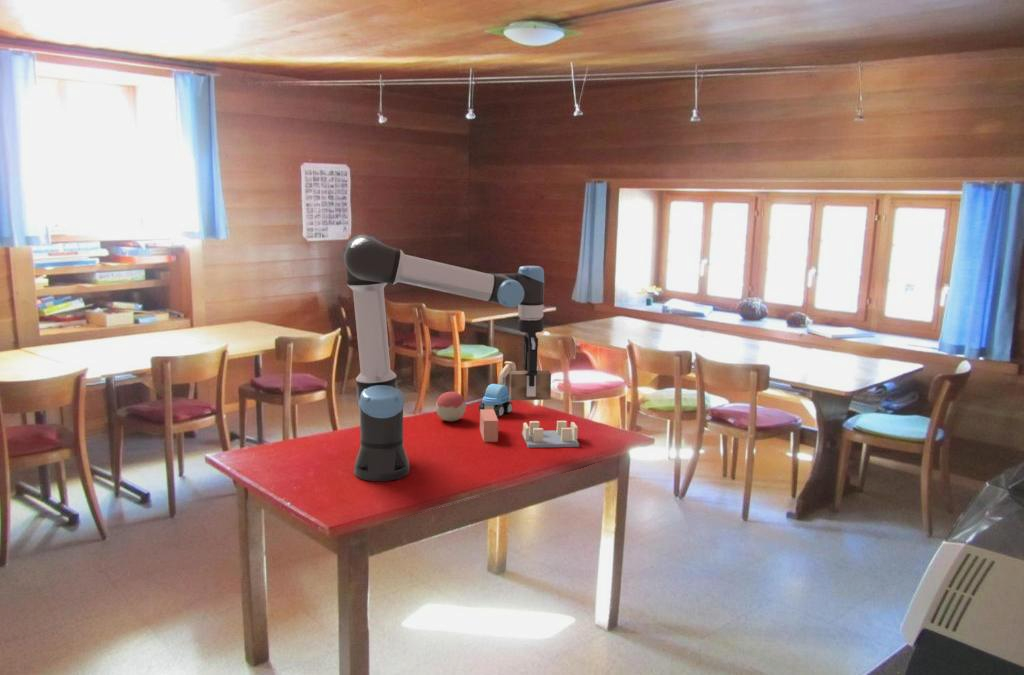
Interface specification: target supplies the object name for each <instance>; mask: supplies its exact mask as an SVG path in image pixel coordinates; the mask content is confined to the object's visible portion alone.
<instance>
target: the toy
mask: <svg viewBox="0 0 1024 675" xmlns="http://www.w3.org/2000/svg"><path fill="white" fill-rule="evenodd" d="M466 409H467V406H466V400H465V398H464V397H463V396H462V395H461V394H460V393H459V392H457V391H447V392H444V393H442V394H441V395H439V397H438V398H437V400H436V404H435V410H436V413H437V416H438V417H439V418H440V419H442V420H443V421H447V422H455V421H458V420H460V419H462V418H463V416H464V414H465V412H466Z"/></svg>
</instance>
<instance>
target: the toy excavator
mask: <svg viewBox="0 0 1024 675" xmlns="http://www.w3.org/2000/svg"><path fill="white" fill-rule="evenodd" d="M510 371H517V366H516V363H515V362H514V361H507V360H506V361H504V367H503V368H502V370H500V372H499V375H498V383H491V384H489V385H488V386H487V387H486V389H485V394H484V396H483V398H482V401H481V402H480V403H479V404H478V412H479V413H480V409H494V411H495V414H496V416H497V417H499V418H500V417H501V416H503V415H504V413H507V414H511V413H512V411H513V408H514V407H513V406H514V404H513V402H512V400H511V399H510V397H509V387H508V386H506V377H507V376H508V375H510Z"/></svg>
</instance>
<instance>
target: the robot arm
mask: <svg viewBox="0 0 1024 675" xmlns="http://www.w3.org/2000/svg"><path fill="white" fill-rule="evenodd" d="M342 253H343V255H342V257H343V258H342V259H343V263H344V268H345V278H346V280H345V281H346V286H347V287H348V288H350V290H352V294H353V304H354V305H353V306H354V317H355V326H356V337H357V347H358V348H357V349H358V358H359V368H360V369H359V370H360V372H359V374H358V375H357V376H356V378H355V383H356V394H357V396H356V402H357V407H358V413H359V417H360V418H359V419H360V420H359V421H360V424H359V425H360V426H359V428H360V447H359V450H358V452H357V453H358V454H357V455H356V458H355V463H354V466H353V467H354V469H353V470H354V471H353V472H354V473H353V474H354V475H355V477H357V478H358V479H361V480H365V481H369V482H370V481H371V482H389V481H396V480H399V479H402V478H405V477H406V476H408V475H409V474H410V461H409V458H408V455H407V453H406V450H405V447H404V406H405V404H404V403H405V400H404V395H403V392H402V391H401V390H400V389H399V388H398V380H397V379H398V378H397V374H396V373H395V372H394V371H393V370H392V369H391V360H390V359H391V358H390V349H389V348H390V346H389V336H388V324H387V323H388V322H387V315H386V314H387V313H386V312H387V311H386V302H385V300H386V299H385V290H384V289H385V287H386V286H387V285H392V286H393V285H395V284H397V283H402V284H407V285H412V286H416V287H420V288H425V289H429V290H434V291H438V292H443V293H448V294H452V295H456V296H462V297H466V298H471V299H475V300H479V301H480V300H481V301H485V302H489V303H493V304H496V305H497V304H498V305H501V306H503V307H505V308H516V307H517V309H518V310H517V316H518V320H517V322H518V325H517V330H518V331H519V332H521V333H525V334H524V335H523V338H522V339H523V367H524V369H523V370H524V371H528V373H527V374H525V376H527V391H526V396H527V397H534V396H536V375H537V371H538V349H539V348H538V346H539V337H537V333H542V332H543V331H544V319H543V317H544V311H546V307H545V306H544V302H545V300H544V299H545V298H544V297H545V296H544V295H545V271H544V268H543V267H541V266H539V265H522V266H519V268H518V271H517V272H515V273H493V272H492V273H491V272H490V273H486V272H481V271H480V270H479V271H478V270H474V269H469V268H465V267H460V266H457V265H452V264H448V263H444V262H438V261H435V260H431V259H425V258H421V257H418V256H414V255H408V254H405V253H404V251H403V250H402V249H400V248H395V247H392V246H390V245H387V244H384V243H382V241H381V240H380V239H379V238H378V237H377V236H376V237H375V236H373V235H370V234H359V235H356V236H354V237H353V238H351V239H349V241H348V242H347V243H346V244H345V246H344V249H343V252H342Z"/></svg>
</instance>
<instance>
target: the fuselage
mask: <svg viewBox="0 0 1024 675" xmlns="http://www.w3.org/2000/svg"><path fill="white" fill-rule="evenodd" d="M527 373H528V371H526V370H516V371H510V374H509V387H508V394H509V397H510V399H511V400H510V401H547V400H548V401H550V400H551V398H552V397H551V395H552V394H551V393H552V392H551V391H552V385H551V384H552V373H551V372H550V370H548V369H547V370H546V369H545V370H544V369H543V370H538V369H537V375H536V396H534V397H527V396H526V391H527V376H525V374H527Z"/></svg>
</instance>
